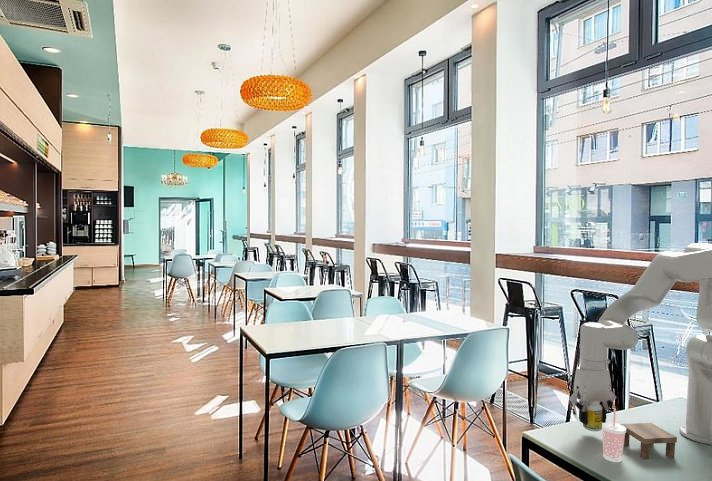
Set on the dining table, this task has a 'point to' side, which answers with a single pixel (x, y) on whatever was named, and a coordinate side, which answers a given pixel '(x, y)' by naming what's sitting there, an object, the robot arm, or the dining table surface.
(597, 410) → the supplement bottle
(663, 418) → the dining table surface
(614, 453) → the beverage cup
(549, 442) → the dining table surface
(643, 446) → the footstool
